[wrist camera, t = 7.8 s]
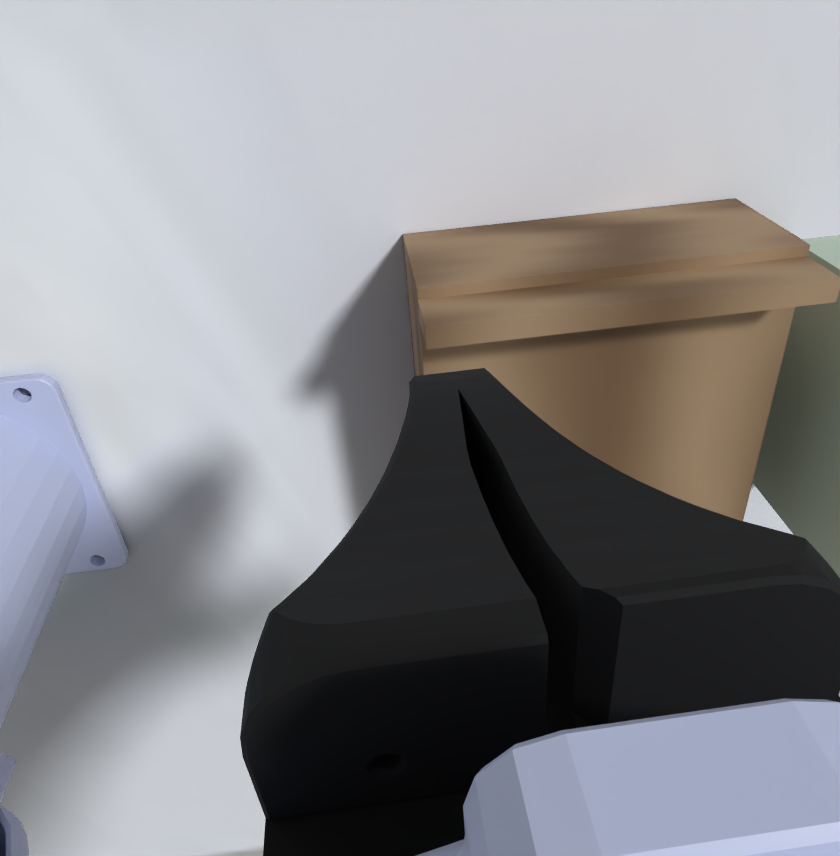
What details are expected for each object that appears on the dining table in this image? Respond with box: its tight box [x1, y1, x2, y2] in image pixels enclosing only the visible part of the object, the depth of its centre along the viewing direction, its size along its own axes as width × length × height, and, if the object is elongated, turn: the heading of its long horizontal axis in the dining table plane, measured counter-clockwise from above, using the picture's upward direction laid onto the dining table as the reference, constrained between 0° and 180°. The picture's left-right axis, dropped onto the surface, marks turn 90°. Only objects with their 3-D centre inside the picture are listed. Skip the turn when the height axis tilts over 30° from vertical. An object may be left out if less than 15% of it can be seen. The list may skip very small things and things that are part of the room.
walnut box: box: [403, 199, 840, 521], centre depth 22 cm, size 10×12×6 cm
